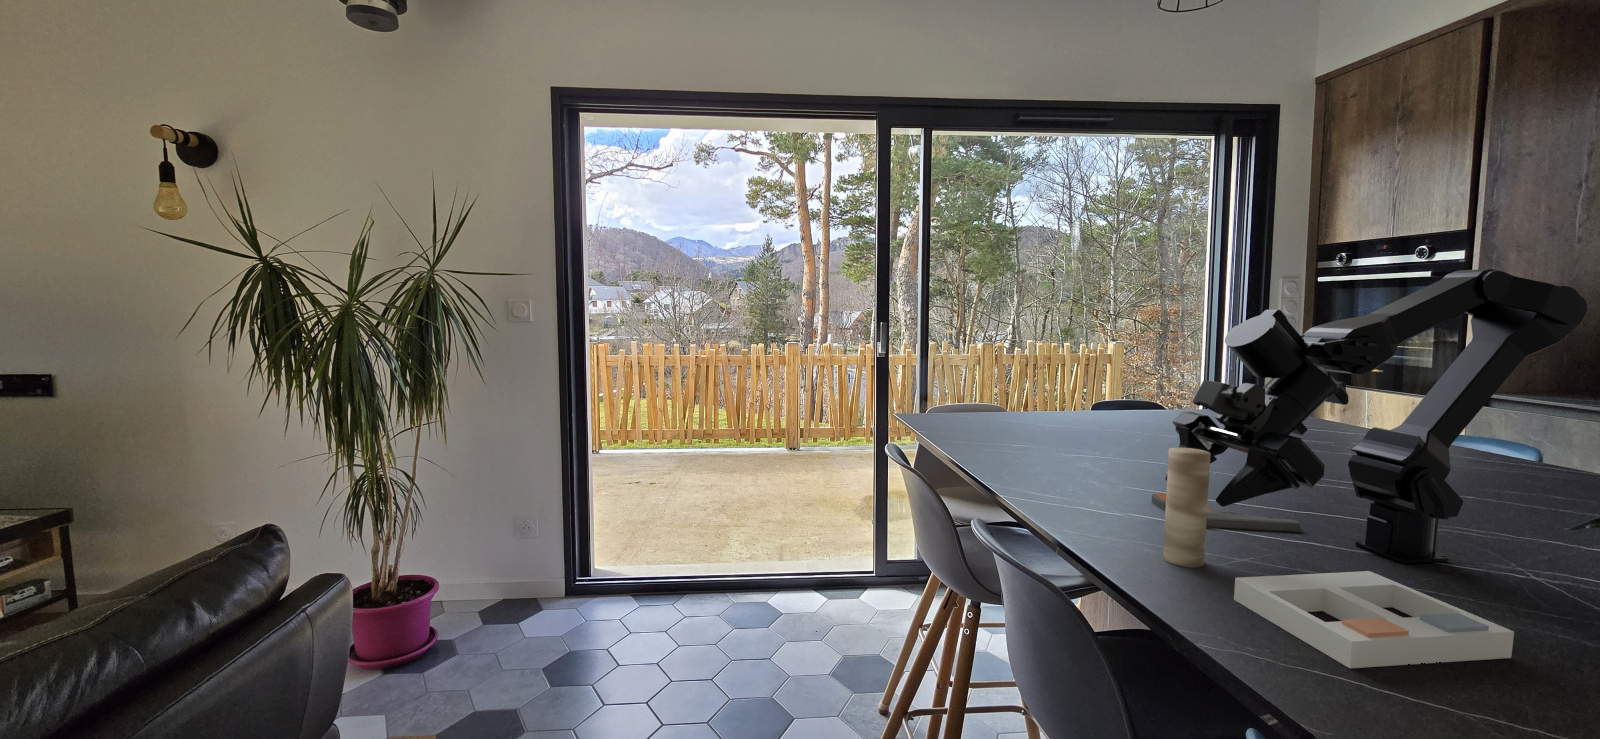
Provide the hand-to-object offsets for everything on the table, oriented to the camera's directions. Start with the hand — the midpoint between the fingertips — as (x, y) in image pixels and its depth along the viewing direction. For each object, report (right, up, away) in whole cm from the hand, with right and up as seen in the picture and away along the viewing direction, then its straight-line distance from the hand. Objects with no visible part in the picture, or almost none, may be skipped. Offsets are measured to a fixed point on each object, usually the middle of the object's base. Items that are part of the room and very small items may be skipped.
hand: (1191, 492), depth 77 cm
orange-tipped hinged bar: (+15, -8, +17) cm, 24 cm away
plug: (-1, -9, +1) cm, 9 cm away
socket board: (+7, -10, -15) cm, 20 cm away
